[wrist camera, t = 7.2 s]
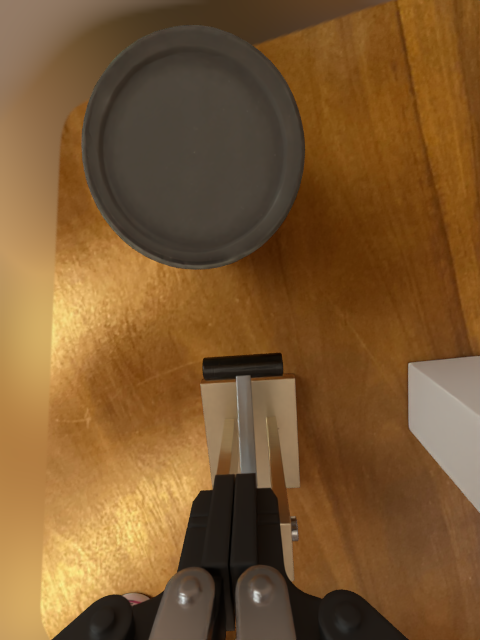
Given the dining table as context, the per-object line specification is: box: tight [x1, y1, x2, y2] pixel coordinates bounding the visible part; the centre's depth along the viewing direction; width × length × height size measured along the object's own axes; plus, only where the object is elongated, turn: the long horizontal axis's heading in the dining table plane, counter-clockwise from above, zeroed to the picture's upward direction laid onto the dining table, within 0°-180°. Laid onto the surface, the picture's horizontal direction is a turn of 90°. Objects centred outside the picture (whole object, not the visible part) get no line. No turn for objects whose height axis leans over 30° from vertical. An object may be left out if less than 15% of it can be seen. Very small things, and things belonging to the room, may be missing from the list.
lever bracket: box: [200, 374, 300, 581], centre depth 27 cm, size 12×9×14 cm
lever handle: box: [203, 353, 283, 488], centre depth 24 cm, size 13×6×2 cm, turn 5°
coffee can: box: [82, 25, 305, 269], centre depth 22 cm, size 10×10×14 cm
